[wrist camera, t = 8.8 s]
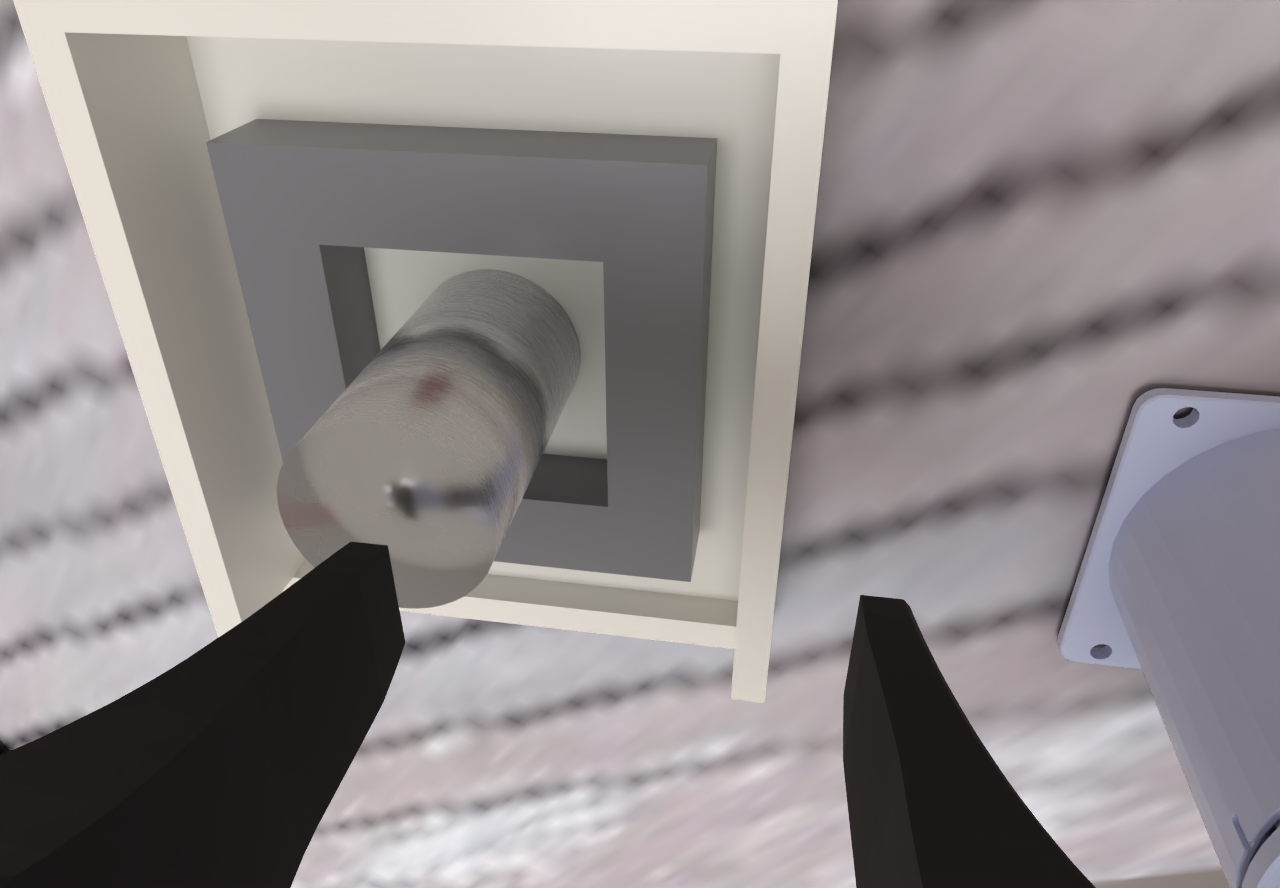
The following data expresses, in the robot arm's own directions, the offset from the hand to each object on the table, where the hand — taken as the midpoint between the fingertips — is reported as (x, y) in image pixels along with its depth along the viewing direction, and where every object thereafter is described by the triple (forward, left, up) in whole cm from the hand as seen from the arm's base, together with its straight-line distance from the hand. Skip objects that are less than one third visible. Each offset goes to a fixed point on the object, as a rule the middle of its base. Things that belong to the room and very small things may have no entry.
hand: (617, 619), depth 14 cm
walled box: (+5, 0, -9) cm, 10 cm away
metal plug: (+5, 0, -9) cm, 10 cm away
